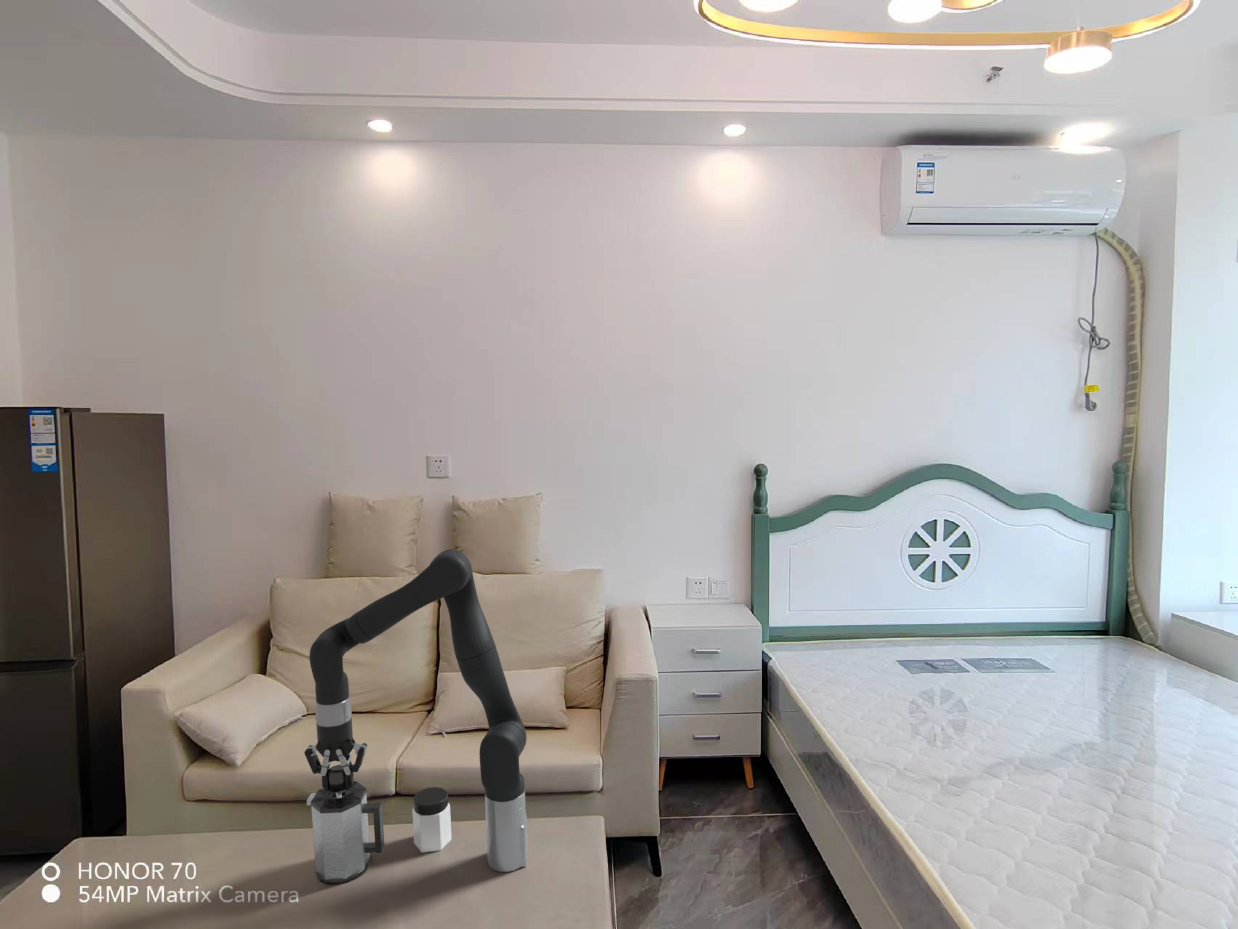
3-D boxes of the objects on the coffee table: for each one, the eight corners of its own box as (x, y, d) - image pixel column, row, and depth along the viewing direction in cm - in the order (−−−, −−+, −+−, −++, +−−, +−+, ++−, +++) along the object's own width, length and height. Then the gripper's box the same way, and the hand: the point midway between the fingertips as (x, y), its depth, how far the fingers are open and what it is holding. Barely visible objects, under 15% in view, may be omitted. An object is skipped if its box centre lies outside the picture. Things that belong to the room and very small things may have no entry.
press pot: (390, 849, 177) (386, 779, 175) (377, 882, 165) (372, 808, 163) (323, 852, 176) (318, 781, 174) (304, 886, 164) (299, 811, 162)
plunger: (354, 846, 172) (348, 764, 170) (348, 857, 168) (343, 773, 166) (336, 846, 172) (331, 765, 170) (331, 857, 168) (325, 774, 166)
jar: (456, 843, 179) (454, 797, 177) (425, 858, 173) (422, 810, 172) (440, 826, 185) (438, 782, 184) (409, 840, 180) (407, 794, 179)
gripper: (370, 709, 170) (374, 778, 172) (308, 711, 170) (312, 780, 172) (360, 724, 163) (364, 796, 165) (295, 726, 162) (300, 799, 164)
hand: (338, 788), depth 168 cm, fingers closed on plunger, 4 cm apart
